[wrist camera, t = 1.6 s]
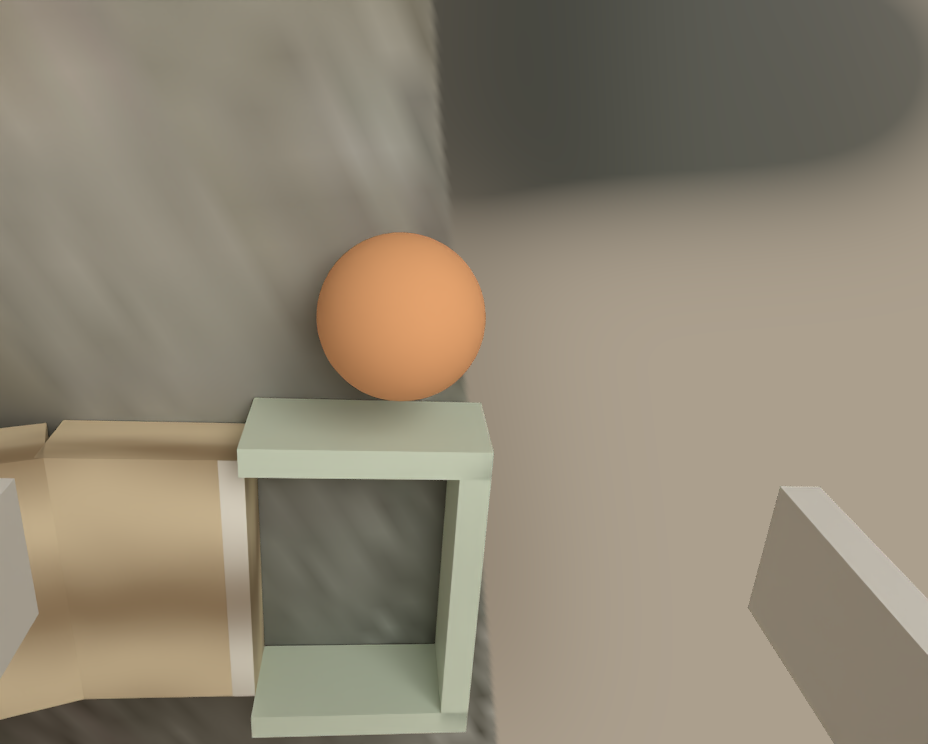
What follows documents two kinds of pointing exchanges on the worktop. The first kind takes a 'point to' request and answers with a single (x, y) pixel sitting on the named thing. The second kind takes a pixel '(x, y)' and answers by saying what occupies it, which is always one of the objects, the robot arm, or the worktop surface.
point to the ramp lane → (135, 563)
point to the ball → (401, 316)
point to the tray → (466, 509)
